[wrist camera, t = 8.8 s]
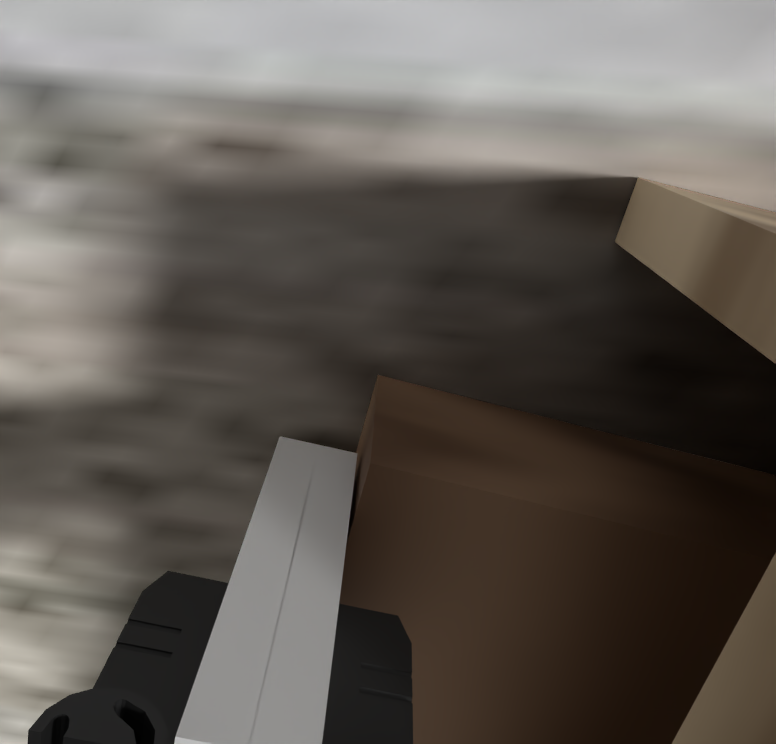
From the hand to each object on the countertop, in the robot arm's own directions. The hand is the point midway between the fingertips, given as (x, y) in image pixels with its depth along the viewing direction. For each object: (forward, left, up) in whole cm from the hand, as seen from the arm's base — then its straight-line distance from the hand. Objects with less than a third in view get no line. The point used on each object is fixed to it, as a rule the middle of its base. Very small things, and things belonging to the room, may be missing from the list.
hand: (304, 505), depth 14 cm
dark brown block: (+7, -2, -2) cm, 7 cm away
